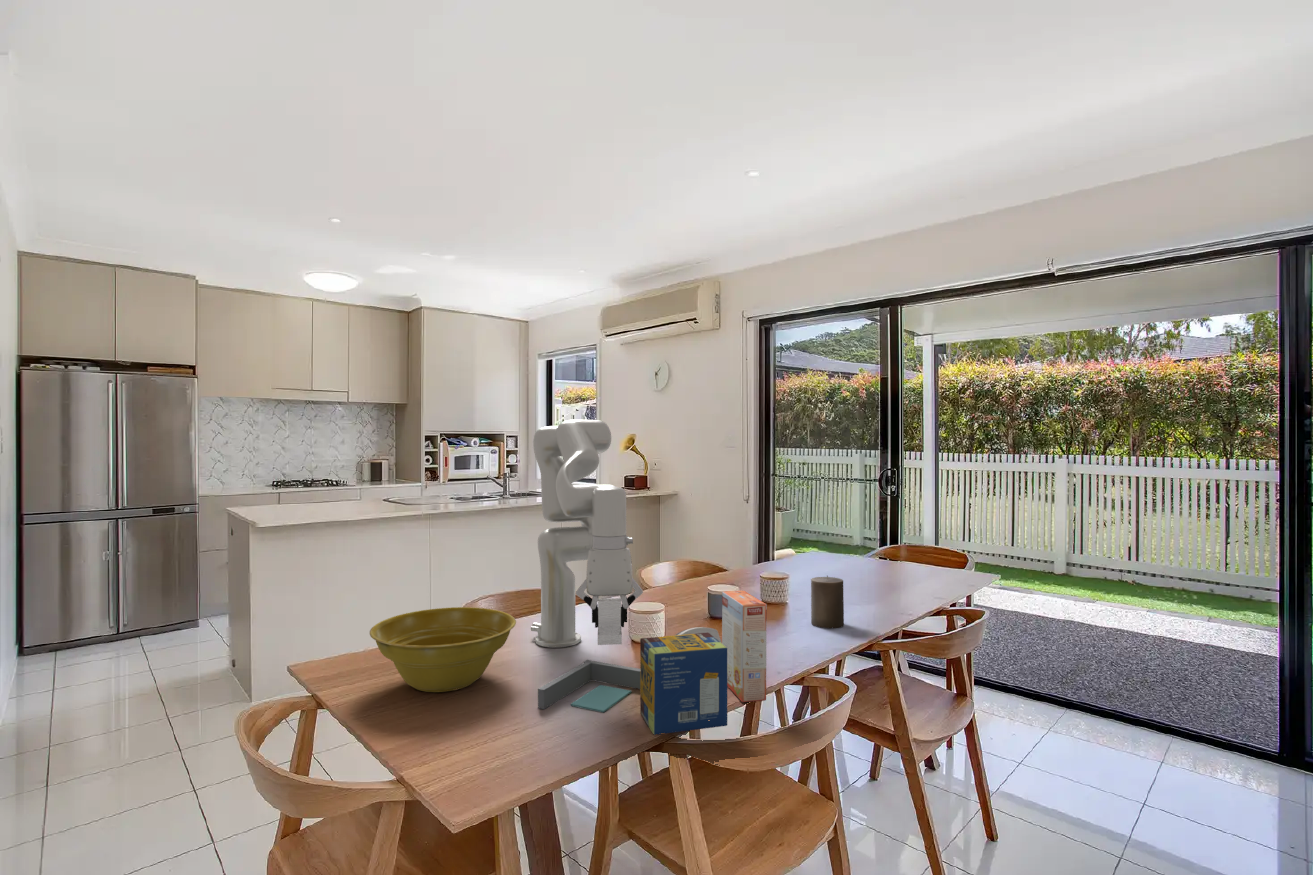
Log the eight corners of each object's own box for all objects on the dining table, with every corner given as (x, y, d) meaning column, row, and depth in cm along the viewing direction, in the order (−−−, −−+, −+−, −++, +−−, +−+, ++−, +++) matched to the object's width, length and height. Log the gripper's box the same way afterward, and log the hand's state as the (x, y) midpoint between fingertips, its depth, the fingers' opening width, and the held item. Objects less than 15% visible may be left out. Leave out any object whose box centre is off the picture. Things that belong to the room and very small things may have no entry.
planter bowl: (544, 672, 156) (544, 616, 156) (437, 722, 129) (437, 654, 129) (450, 651, 173) (450, 600, 173) (338, 691, 145) (338, 630, 145)
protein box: (639, 713, 133) (639, 637, 133) (710, 705, 137) (709, 631, 137) (653, 736, 123) (652, 653, 123) (729, 726, 127) (728, 646, 127)
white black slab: (681, 676, 154) (671, 633, 157) (669, 677, 157) (660, 635, 160) (730, 661, 165) (721, 621, 167) (718, 663, 168) (709, 623, 171)
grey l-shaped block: (598, 632, 144) (598, 598, 144) (620, 632, 145) (620, 598, 145) (597, 644, 135) (597, 608, 135) (621, 644, 136) (621, 608, 136)
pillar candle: (847, 629, 193) (847, 578, 193) (814, 628, 193) (814, 578, 194) (838, 620, 203) (838, 572, 203) (807, 620, 203) (807, 572, 203)
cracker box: (768, 701, 139) (768, 603, 139) (741, 703, 138) (741, 604, 138) (745, 678, 153) (745, 589, 153) (721, 680, 151) (720, 590, 152)
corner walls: (536, 707, 136) (536, 688, 136) (587, 676, 154) (587, 659, 154) (613, 724, 128) (613, 703, 128) (657, 689, 146) (657, 671, 146)
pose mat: (570, 705, 137) (570, 703, 137) (600, 686, 147) (600, 684, 147) (603, 712, 133) (603, 710, 133) (631, 692, 144) (631, 690, 144)
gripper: (647, 540, 148) (647, 620, 148) (571, 541, 147) (571, 622, 146) (648, 545, 140) (649, 629, 140) (569, 546, 139) (569, 631, 139)
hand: (609, 624), depth 143 cm, fingers closed on grey l-shaped block, 5 cm apart
